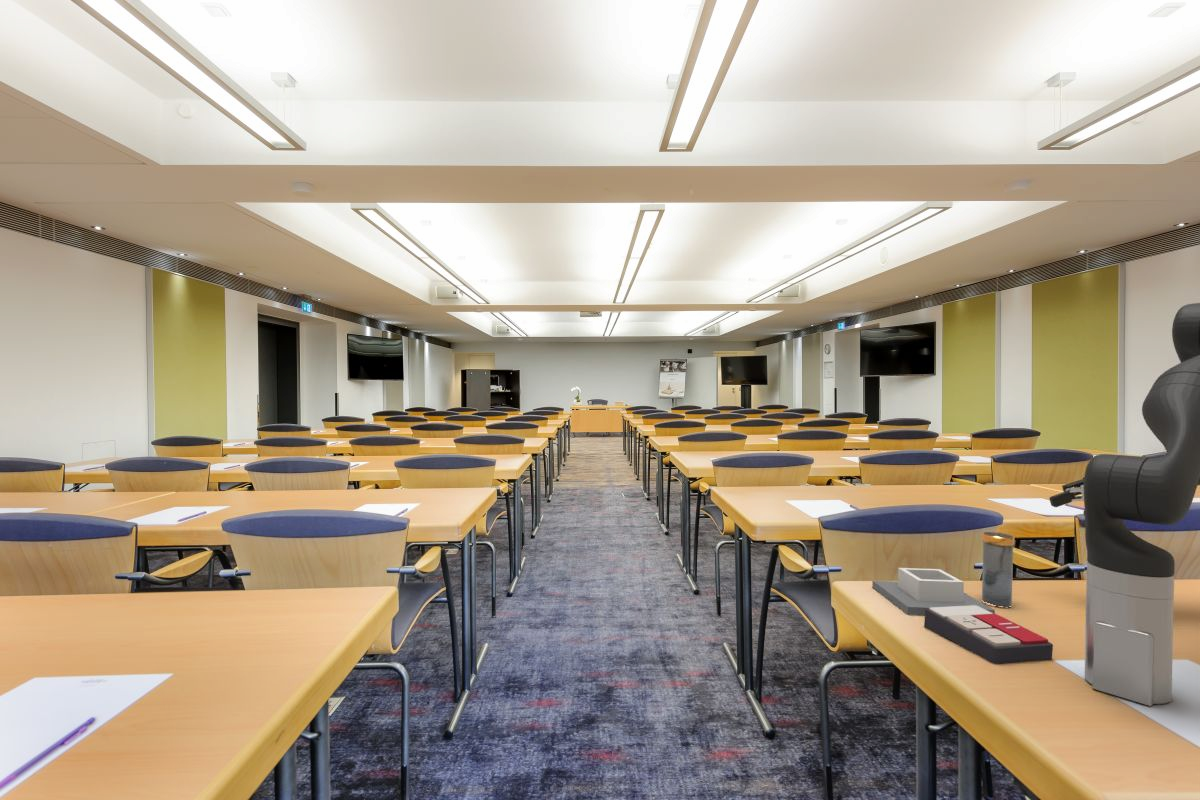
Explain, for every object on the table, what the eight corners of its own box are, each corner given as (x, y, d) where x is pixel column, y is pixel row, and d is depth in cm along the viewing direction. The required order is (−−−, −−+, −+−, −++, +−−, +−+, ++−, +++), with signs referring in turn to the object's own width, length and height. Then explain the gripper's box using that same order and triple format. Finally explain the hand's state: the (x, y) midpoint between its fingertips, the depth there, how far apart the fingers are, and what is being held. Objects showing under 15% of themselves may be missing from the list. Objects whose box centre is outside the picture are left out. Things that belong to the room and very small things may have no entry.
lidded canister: (1008, 610, 113) (1009, 539, 113) (976, 602, 117) (978, 534, 117) (1016, 604, 117) (1018, 535, 117) (985, 597, 121) (987, 530, 121)
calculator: (996, 643, 89) (924, 604, 104) (994, 670, 90) (922, 627, 104) (1055, 639, 91) (976, 601, 106) (1053, 666, 92) (974, 624, 106)
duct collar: (994, 618, 109) (995, 589, 109) (907, 614, 110) (908, 585, 110) (947, 590, 125) (948, 564, 125) (872, 587, 126) (872, 562, 126)
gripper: (1112, 455, 120) (1036, 482, 121) (1180, 473, 106) (1093, 503, 107) (1121, 488, 121) (1045, 514, 122) (1189, 510, 107) (1103, 539, 108)
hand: (1068, 509), depth 114 cm, fingers open, 8 cm apart
